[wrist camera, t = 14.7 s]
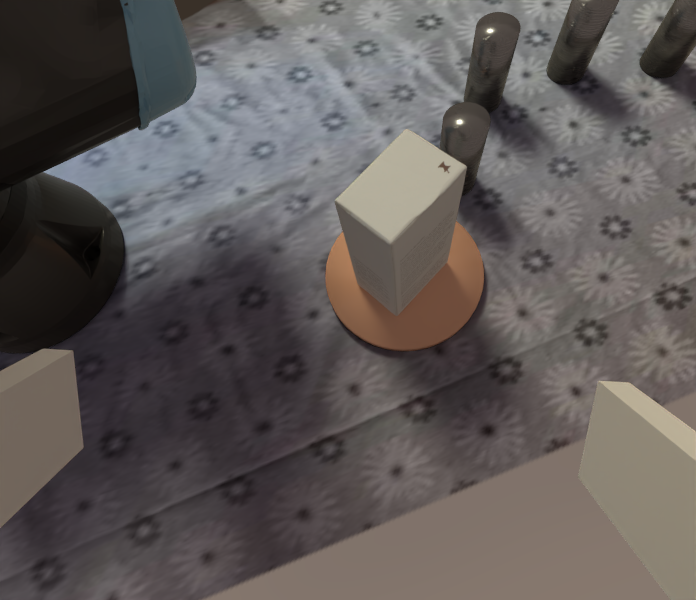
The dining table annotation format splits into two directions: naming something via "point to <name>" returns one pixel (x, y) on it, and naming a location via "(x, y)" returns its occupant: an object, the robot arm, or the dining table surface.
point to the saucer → (422, 312)
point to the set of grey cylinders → (549, 66)
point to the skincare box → (401, 219)
